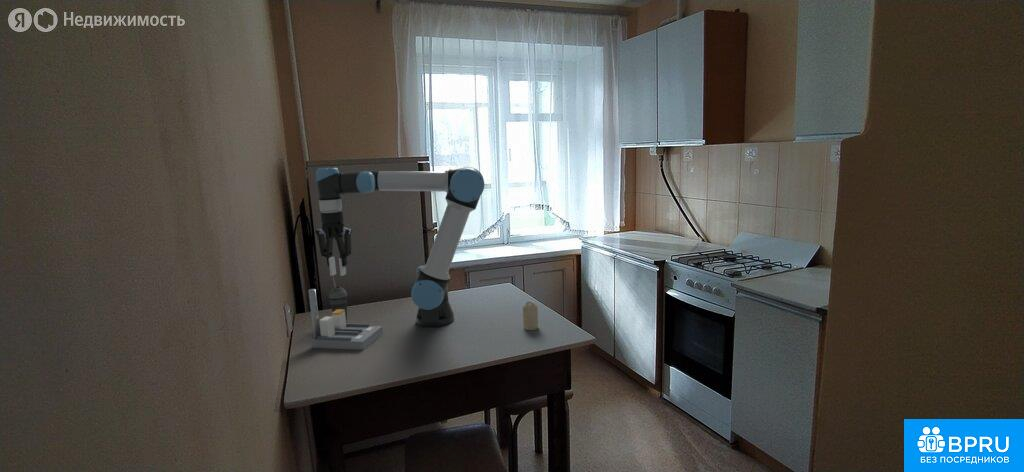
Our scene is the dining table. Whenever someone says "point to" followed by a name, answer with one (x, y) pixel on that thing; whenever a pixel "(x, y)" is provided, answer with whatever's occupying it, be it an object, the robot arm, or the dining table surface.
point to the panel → (349, 337)
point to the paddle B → (327, 326)
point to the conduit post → (314, 313)
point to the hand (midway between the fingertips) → (338, 274)
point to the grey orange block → (339, 318)
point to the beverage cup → (338, 299)
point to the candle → (530, 316)
